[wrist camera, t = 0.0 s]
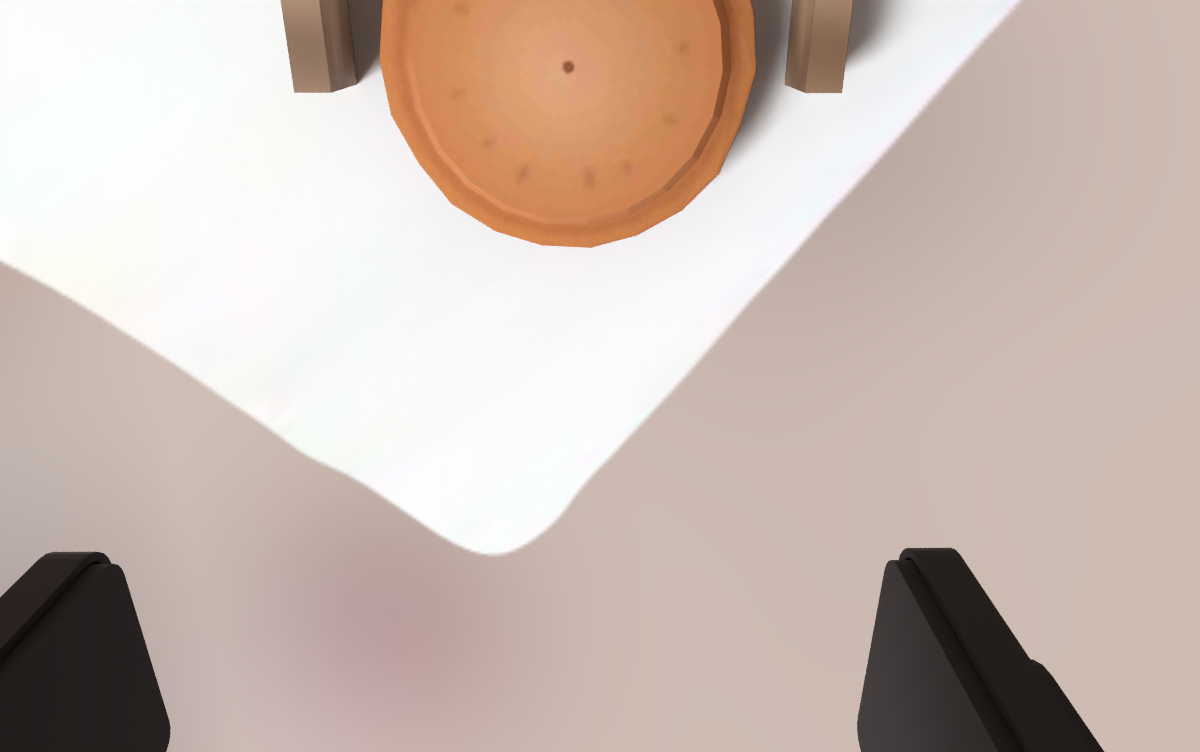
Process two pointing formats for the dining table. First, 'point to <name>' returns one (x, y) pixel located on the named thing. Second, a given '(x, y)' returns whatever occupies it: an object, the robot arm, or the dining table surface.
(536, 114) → the pie
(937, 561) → the robot arm
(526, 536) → the dining table surface
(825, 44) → the channel walls
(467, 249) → the dining table surface
